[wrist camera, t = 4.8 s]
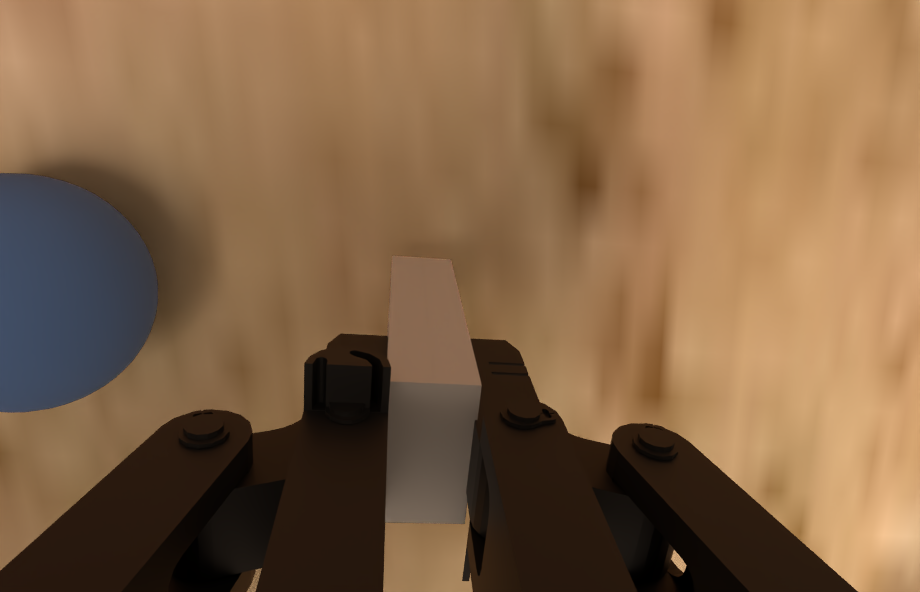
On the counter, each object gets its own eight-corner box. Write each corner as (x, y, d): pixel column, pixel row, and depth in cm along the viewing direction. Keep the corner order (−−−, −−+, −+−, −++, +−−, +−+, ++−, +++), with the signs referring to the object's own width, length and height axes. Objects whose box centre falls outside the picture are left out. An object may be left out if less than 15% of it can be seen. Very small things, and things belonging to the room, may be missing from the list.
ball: (-9, 343, 18) (-172, 458, 13) (-45, 147, 16) (-253, 191, 11) (192, 352, 19) (113, 466, 13) (181, 164, 17) (83, 214, 12)
